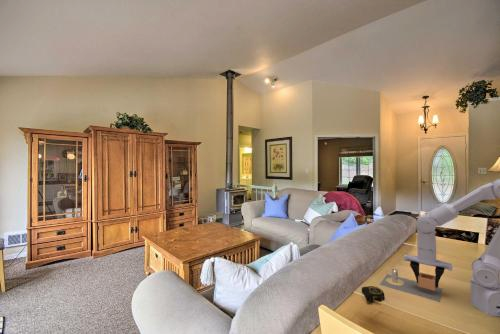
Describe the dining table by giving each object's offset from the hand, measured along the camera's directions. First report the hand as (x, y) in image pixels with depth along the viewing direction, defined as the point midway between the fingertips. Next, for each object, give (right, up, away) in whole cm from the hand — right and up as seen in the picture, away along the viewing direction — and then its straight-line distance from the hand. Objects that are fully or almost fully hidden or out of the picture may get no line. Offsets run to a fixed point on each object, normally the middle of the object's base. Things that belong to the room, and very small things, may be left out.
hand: (427, 284), depth 90 cm
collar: (0, -1, 0) cm, 1 cm away
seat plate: (-4, -4, +4) cm, 7 cm away
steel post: (-8, -4, +7) cm, 11 cm away
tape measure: (-22, -5, -3) cm, 23 cm away
